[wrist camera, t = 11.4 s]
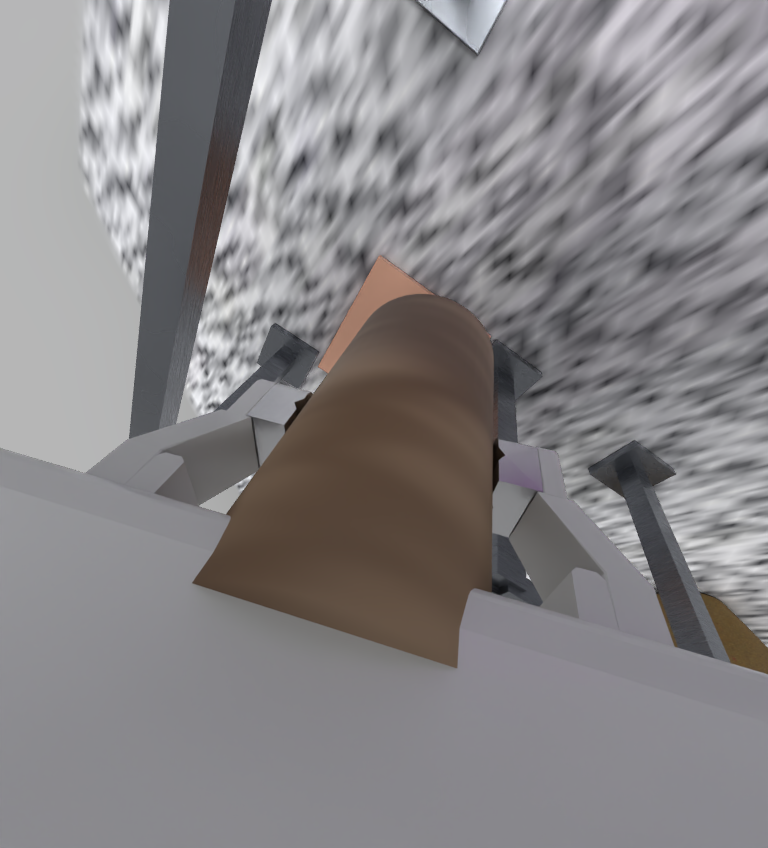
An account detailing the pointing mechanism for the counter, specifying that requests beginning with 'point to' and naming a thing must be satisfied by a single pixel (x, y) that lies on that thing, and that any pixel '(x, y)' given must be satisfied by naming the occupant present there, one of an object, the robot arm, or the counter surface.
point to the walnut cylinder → (378, 488)
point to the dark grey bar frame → (283, 352)
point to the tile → (370, 305)
